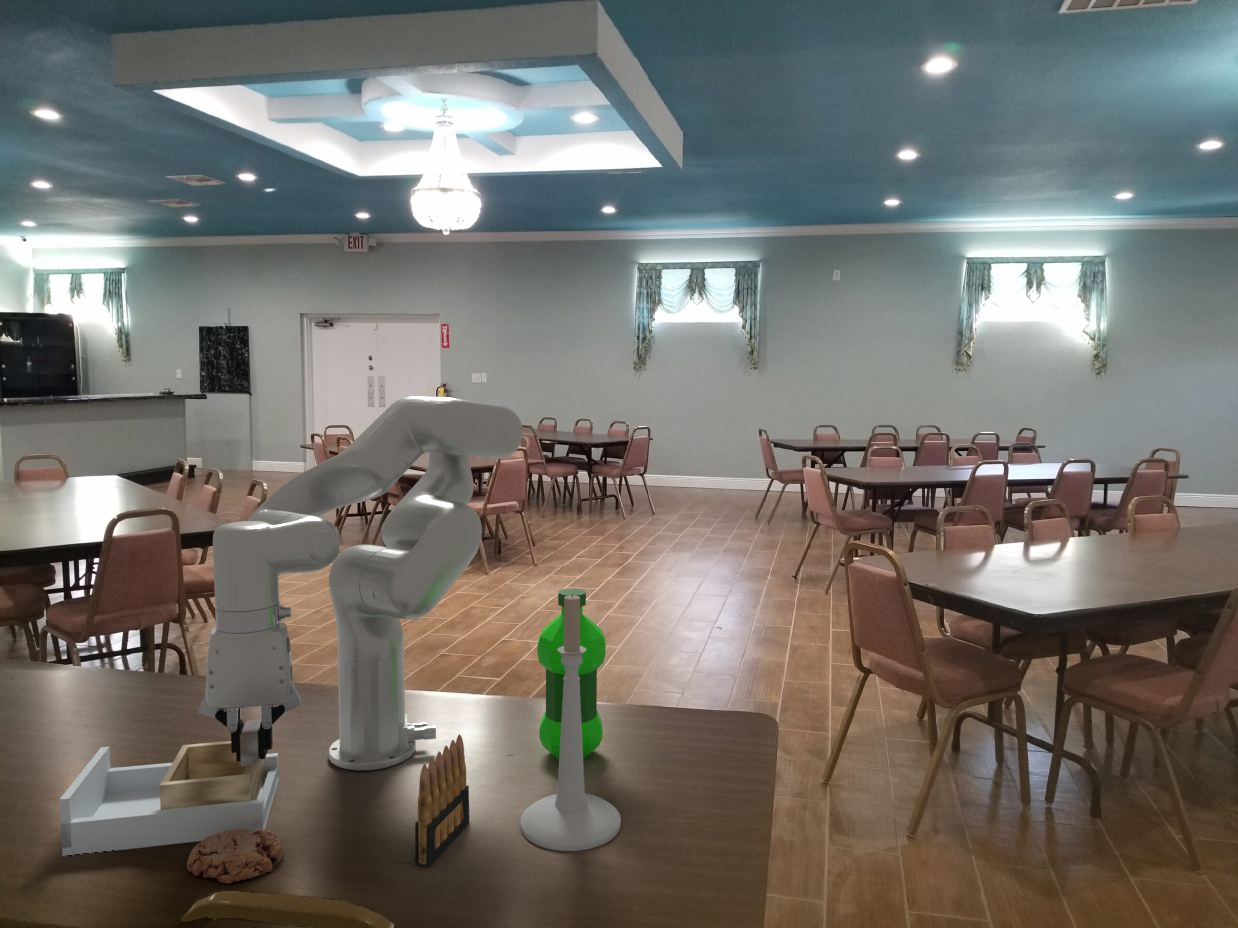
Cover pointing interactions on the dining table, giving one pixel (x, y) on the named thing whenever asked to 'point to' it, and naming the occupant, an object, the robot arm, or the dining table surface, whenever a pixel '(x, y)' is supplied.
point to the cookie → (236, 855)
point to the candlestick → (571, 768)
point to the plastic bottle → (555, 673)
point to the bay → (148, 809)
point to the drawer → (214, 773)
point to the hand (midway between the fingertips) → (252, 754)
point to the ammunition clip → (441, 804)
